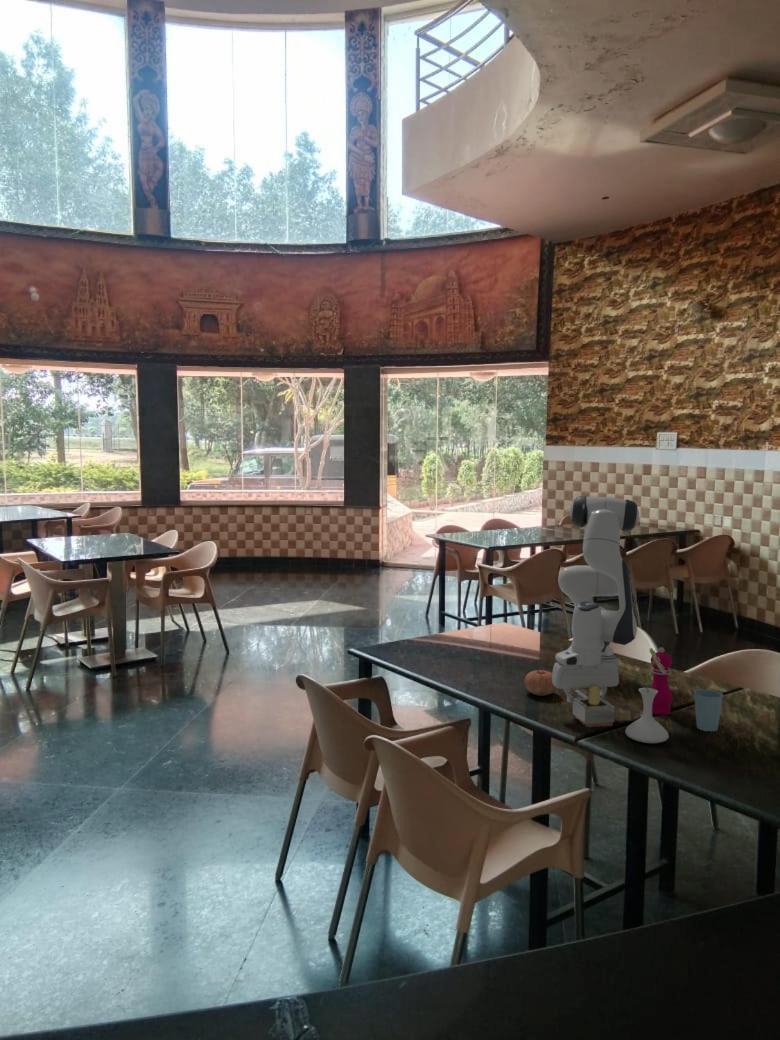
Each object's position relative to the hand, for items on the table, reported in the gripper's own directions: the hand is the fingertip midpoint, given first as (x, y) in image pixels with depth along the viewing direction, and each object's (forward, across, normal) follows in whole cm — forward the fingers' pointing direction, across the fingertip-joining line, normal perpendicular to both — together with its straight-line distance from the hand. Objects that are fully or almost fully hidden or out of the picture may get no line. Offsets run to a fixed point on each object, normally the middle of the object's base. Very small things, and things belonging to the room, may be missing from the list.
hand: (584, 701), depth 229 cm
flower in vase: (+4, -9, +22) cm, 24 cm away
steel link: (+3, 0, +2) cm, 4 cm away
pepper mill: (+4, -24, 0) cm, 24 cm away
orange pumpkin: (+4, +6, -22) cm, 23 cm away
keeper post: (+4, 0, +6) cm, 8 cm away
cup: (+4, -30, +16) cm, 35 cm away
